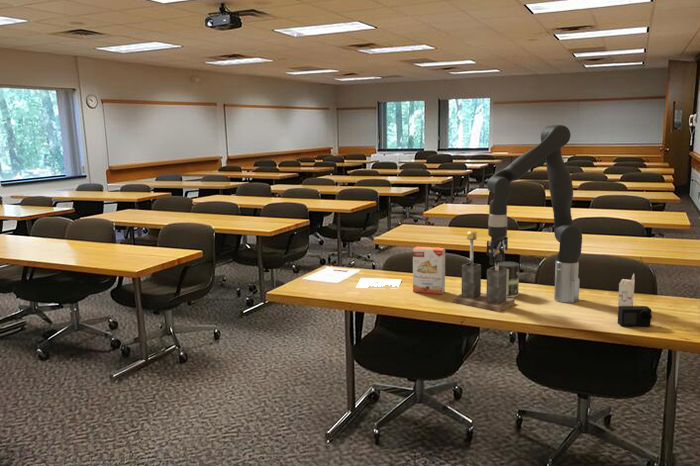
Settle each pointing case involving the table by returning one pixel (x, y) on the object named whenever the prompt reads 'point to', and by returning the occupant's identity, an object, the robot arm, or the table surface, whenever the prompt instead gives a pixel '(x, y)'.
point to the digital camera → (634, 316)
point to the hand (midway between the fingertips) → (496, 263)
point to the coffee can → (511, 277)
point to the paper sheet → (377, 282)
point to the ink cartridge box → (626, 292)
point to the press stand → (495, 288)
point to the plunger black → (498, 260)
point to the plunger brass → (471, 244)
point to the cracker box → (429, 270)
